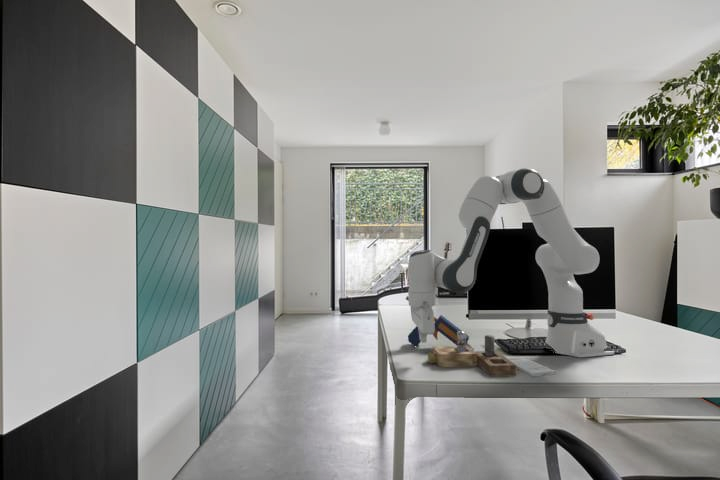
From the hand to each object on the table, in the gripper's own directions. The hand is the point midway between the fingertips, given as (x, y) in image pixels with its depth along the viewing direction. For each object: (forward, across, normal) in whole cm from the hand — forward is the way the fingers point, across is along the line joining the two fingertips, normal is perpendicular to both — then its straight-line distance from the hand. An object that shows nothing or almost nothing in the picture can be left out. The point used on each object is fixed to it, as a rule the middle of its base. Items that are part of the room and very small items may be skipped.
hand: (423, 341), depth 134 cm
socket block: (+7, 0, -10) cm, 12 cm away
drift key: (+7, 0, -6) cm, 9 cm away
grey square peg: (+7, 0, -13) cm, 15 cm away
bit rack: (+7, -6, -21) cm, 23 cm away
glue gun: (+8, +19, -10) cm, 22 cm away
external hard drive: (+8, -8, -32) cm, 34 cm away
